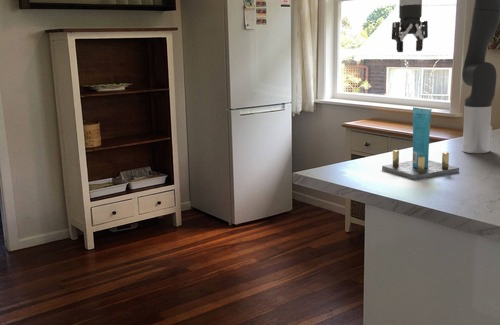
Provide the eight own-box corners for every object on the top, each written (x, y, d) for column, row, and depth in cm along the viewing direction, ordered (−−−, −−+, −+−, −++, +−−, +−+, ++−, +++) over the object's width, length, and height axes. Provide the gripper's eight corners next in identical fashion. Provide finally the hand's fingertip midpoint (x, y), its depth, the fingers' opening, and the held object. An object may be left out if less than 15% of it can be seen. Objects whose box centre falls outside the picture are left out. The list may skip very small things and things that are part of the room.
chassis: (423, 163, 187) (424, 144, 186) (458, 172, 173) (459, 152, 172) (382, 170, 180) (382, 151, 179) (415, 180, 166) (416, 159, 164)
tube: (434, 167, 175) (436, 108, 171) (425, 169, 172) (427, 109, 168) (414, 163, 181) (416, 106, 176) (405, 166, 178) (407, 108, 174)
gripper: (418, 4, 193) (417, 50, 197) (387, 5, 188) (386, 52, 191) (434, 3, 187) (432, 50, 190) (401, 3, 181) (400, 52, 185)
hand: (409, 51), depth 191 cm, fingers open, 8 cm apart
